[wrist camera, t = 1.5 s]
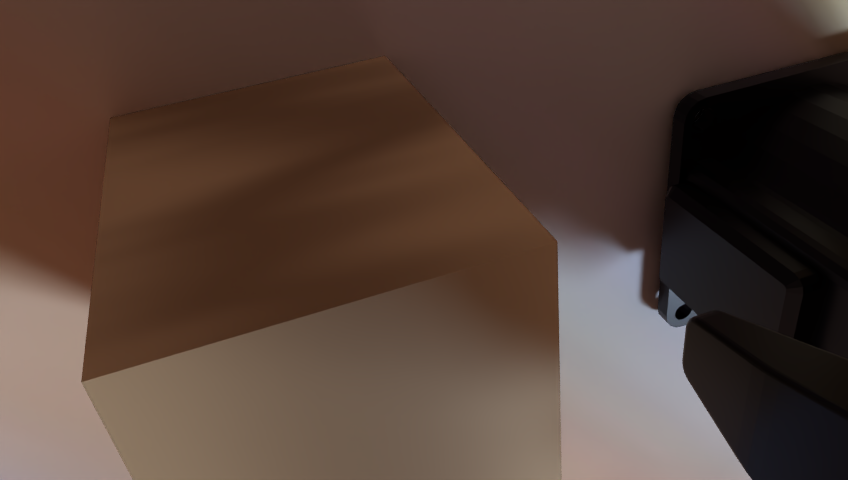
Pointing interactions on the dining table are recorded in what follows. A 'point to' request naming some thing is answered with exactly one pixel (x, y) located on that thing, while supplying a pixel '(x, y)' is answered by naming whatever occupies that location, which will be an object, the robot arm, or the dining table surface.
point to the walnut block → (319, 292)
